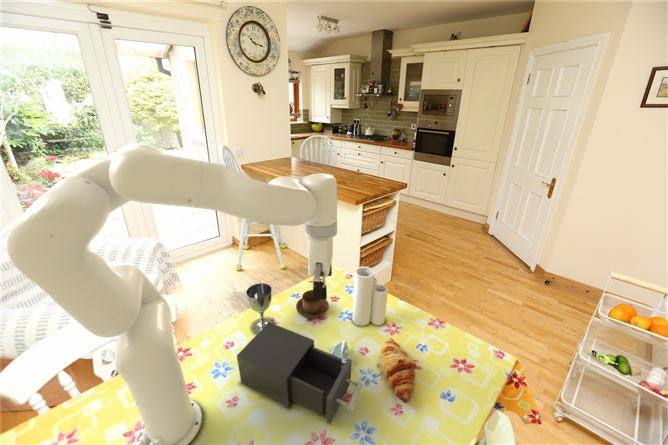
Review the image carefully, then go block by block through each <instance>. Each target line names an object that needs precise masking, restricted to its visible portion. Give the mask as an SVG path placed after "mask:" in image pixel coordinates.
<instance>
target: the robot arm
mask: <svg viewBox="0 0 668 445" xmlns="http://www.w3.org/2000/svg"><path fill="white" fill-rule="evenodd" d="M337 182H338V181H337V179H336V178H335V176H333V175H332V174H328V173H311V174H309V175H306V176H305V175H304V176H292V175H291V176H289V175H287V176H277V177H275V178H273V179H272V180H270V181H269V182H268V183H267V182H264V181H260V180H257V179H254V178H251V177H249V176H246V175H245V174H242V173H240V172H238V171H237V170H234V169H233V168H231V167H229V166H225V165H223V164H219V163H215V162H209V161H203V160H199V159H192V158H187V157H182V156H177V155H171V154H166V153H163V152H162V151H161V150H159V149H158V148H157V147H155V146H153V145H152V144H146V143H140V142H137V143H130V144H127V145H124V146H123V147H121V148H119V149H118V150H116V151H114V152H112V153H111V154H109V155H107V156H105V157H104V158H102V159H100V160H98V161H96V162H94V163H92V164H90V165H87V167H84V168H82V169H80V170H79V171H77V172H75V173H73V174H71V175H69V176H67V177H65V178H64V179H62V180H60V181H59V182H58V183H56V184H54V186H52V187H51V188H50V189H49V190H48V191H47V192H45V193H44V194H43V195H41V196H40V197H39V198H38V199H36V201H34V203H32V204H31V205H30V207H28V208H27V209H26V210H25V212H24V213H22V215H21V216H20V217H19V219H18V220H17V221H16V222H15V223H14V225H13V227H12V228H11V230H10V232H9V234H8V237H7V241H6V249H7V254H8V255H7V256H8V258H9V259H10V261H11V263H12V265H13V266H14V267H15V268H16V269H17V270H18V271H19V272H20V273H21V274H22V275H23V276H25V277H26V278H28V279H29V280H30V281H31V282H32V283H34V284H35V285H36V286H37V287H39V288H40V289H41V290H42V291H44V292H45V293H46V294H47V295H48V296H49V297H50V298H51V299H52V300H53V301H54V302H55V303H56V304H57V305H58V306H60V308H61V309H63V310H64V311H65V312H66V313H67V314H68V315H69V316H71V318H73V319H74V320H75V321H76V322H77V323H78V324H80V325H81V326H82V327H83V328H84V329H85V330H86V331H88V332H89V333H91V334H93V335H95V336H97V337H99V338H109V339H110V338H115V337H117V339H116V344H115V351H114V363H115V364H114V365H115V368H116V371H117V373H118V374H119V375H120V377H121V378H122V379H123V380H124V382H125V384H126V386H127V388H128V390H129V392H130V394H131V397H132V399H133V401H134V403H135V406H136V408H137V411H138V413H139V416H140V418H141V421H142V423H143V425H144V427H142V429H141V430H140V434H141V436H140V437H139V438H138V441H137V442H136V443H135V445H189V444H191V442H192V441H193V440H194V438H195V437H196V435H197V434H198V432H199V430H200V428H201V427H202V422H203V415H202V414H203V413H202V410H201V407H200V405H199V404H198V403H197V402H196V401H194V400H191V397H190V394H189V390H188V386H187V383H186V379H185V376H184V372H183V369H182V367H181V363H180V360H179V357H178V356H177V353H176V348H175V343H174V335H173V334H174V333H173V332H174V331H173V330H174V329H173V317H172V310H171V306H170V304H169V303H168V301H167V300H166V299H165V297H164V296H163V294H162V293H160V291H159V290H158V289H157V287H156V286H155V285H154V284H153V283H152V281H151V280H150V279H149V278H148V277H147V276H146V274H145V273H144V272H143V271H142V269H140V268H139V267H137V266H135V265H134V264H131V263H128V262H124V261H111V262H107V261H106V260H105V259H104V258H103V257H102V256H101V255H100V254H98V253H97V252H96V251H94V250H92V249H90V247H89V245H90V244H91V243H92V241H93V240H94V239H95V238H96V237H97V236H98V234H100V232H102V229H103V227H104V226H105V223H107V220H108V218H109V215H110V214H111V213H113V212H114V211H115V210H117V209H119V208H120V207H122V206H124V205H125V204H128V203H129V202H131V201H132V202H138V203H144V204H153V205H161V206H162V205H163V206H173V207H175V206H176V207H185V208H192V209H194V208H195V209H200V210H201V209H202V210H209V211H210V210H211V211H216V212H219V213H223V214H224V215H228V216H232V217H236V218H240V219H243V220H246V221H250V222H254V223H259V224H265V225H274V226H284V227H285V226H288V227H296V226H301V225H304V229H305V230H304V231H305V236H306V237H307V238H308V242H307V243H308V244H307V245H308V246H307V272H308V274H307V275H308V276H309V277H313V280H312V290H313V297H314V299H321V300H327V299H328V290H327V287H328V286H327V285H326V279H327V277H332V274H333V273H332V270H333V268H332V266H333V265H332V261H333V255H334V254H333V251H334V237H336V236H337V234H338V183H337ZM321 278H322V280H321Z"/></svg>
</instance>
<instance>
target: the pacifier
mask: <svg viewBox="0 0 668 445" xmlns="http://www.w3.org/2000/svg"><path fill="white" fill-rule="evenodd" d="M349 353H350V347H349V345H348V343H347V342H346V340H343V341H342V342H339V343H338V344H337V345H335V347H334V348H333V349H332V350H331V351H330V353H329V354H332V355H334V356H337V357H339V358H341V359H342V364H345V363H346V361H347V359H348V358H349V359H351V358H350V357H349Z"/></svg>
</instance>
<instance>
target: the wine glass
mask: <svg viewBox="0 0 668 445" xmlns="http://www.w3.org/2000/svg"><path fill="white" fill-rule="evenodd" d="M245 292H246V299H247V300H246V301H247V304H248V305H249V307H250V309H251V310H253V311H254V312H256V313H258V315H259V316H260V319H258V320H257V321H255V322H254V323H253V324H252V329H251V330H252V332H254V334H256V335H257V334H258V333H259V332H260V331H261V330H262V329H263V328H264V327H265V326H266V325H267V323H268V322H270V323H273V324H274V322H273V320H271V319H269V318H264V316H265V315H264V314H265V312H266V311H267V310H268V309H269V308H270V307H271V304H272V300H273V299H272V298H273V289H272V287H271V285H270V284H267V283H262V282H259V283H255V284H253V285H250V286H249V287H248V288H247V289H246V291H245Z"/></svg>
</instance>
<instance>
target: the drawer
mask: <svg viewBox="0 0 668 445" xmlns="http://www.w3.org/2000/svg"><path fill="white" fill-rule="evenodd" d="M349 358H350V357H349ZM349 358H348V359H347V360H345V361H346V363H342V359H341V358H339V357H337V356H334V354H333V355H332V354H330V353H329V352H327V351H324V350H321V349H319V348H317V347H315V346H314V347H312V346H311V347H310V349H309V350H308V352H307V353H306V354H305V356H304V357H303V359H302V360H301V362H300V363H299V364H298V366H297V367H296V369H295V370H294V372H293V373H292V374H291V376H290V377H289V379H288V381H289V395H290V400H291V401H293V402H292V403H296V404H298V405H299V406H301V407H302V408H305V409H307V410H309V411H311V412H313V413H315V414H317V415H319V416H321V417H324V415H326V416H325V417H326V418H325V422H326V424H329V425H332V423H333V421H334V419H335V417H336V415H337V412H338V411H339V408H340V406H341V405H342V406H345V407H346V408H347V410H349V411H353V410H354V408H355V405H356V403H357V401H358V399H359V396H360V393H361V391H362V389H363V386H364V383H363V382H361V381H358V382H357V381H355V380H353V379H352V365H353V359H352V358H350V359H349ZM350 385H354V386H355V387H354V389H353V392H352V394H351V396H350V398H349V400H348V402H347V401H344V398H345V395H346V394H347V392H348V389H349V387H350ZM325 413H326V414H325Z"/></svg>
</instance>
